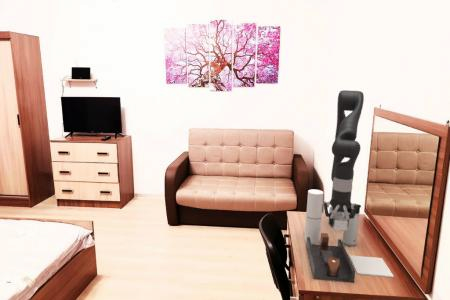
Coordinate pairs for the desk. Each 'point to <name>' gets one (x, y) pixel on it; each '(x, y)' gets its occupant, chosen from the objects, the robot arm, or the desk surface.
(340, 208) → the robot arm
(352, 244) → the travel mug
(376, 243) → the desk surface
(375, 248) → the desk surface
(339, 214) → the grey box
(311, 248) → the dark grey tray
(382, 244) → the desk surface
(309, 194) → the cylindrical container
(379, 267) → the white mat
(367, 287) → the desk surface
